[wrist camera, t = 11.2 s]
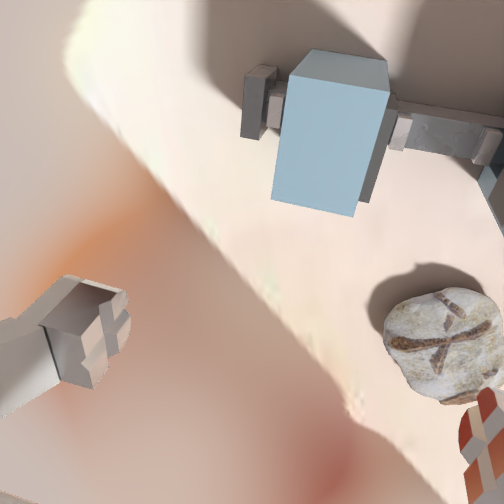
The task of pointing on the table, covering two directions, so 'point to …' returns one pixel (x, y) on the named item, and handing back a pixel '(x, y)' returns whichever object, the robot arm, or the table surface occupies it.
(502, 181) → the light blue rectangular block
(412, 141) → the rail
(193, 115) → the table surface
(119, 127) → the table surface
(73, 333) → the robot arm
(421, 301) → the stone
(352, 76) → the light blue block
